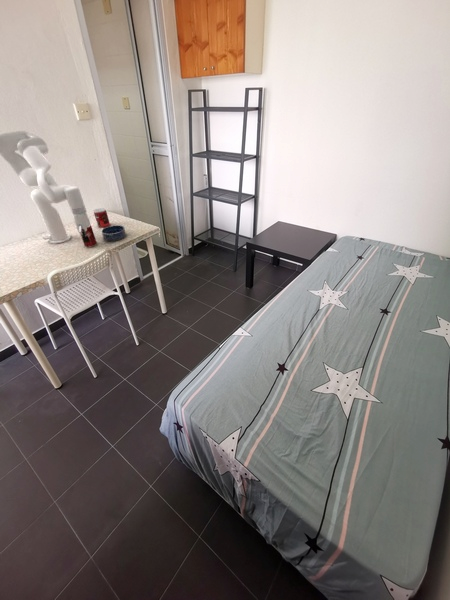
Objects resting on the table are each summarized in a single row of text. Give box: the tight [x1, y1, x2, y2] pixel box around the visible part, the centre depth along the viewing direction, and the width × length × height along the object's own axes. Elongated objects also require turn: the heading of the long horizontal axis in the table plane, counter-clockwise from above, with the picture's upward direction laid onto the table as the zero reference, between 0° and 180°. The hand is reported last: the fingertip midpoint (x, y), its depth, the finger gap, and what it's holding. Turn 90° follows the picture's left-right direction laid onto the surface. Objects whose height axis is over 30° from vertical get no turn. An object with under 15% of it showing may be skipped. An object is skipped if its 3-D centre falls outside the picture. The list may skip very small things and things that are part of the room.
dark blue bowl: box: [101, 224, 127, 242], centre depth 179 cm, size 14×14×5 cm
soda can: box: [80, 223, 98, 248], centre depth 169 cm, size 7×7×12 cm
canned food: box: [93, 207, 111, 229], centre depth 194 cm, size 8×8×11 cm
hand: (88, 239), depth 170 cm, fingers closed on soda can, 7 cm apart
